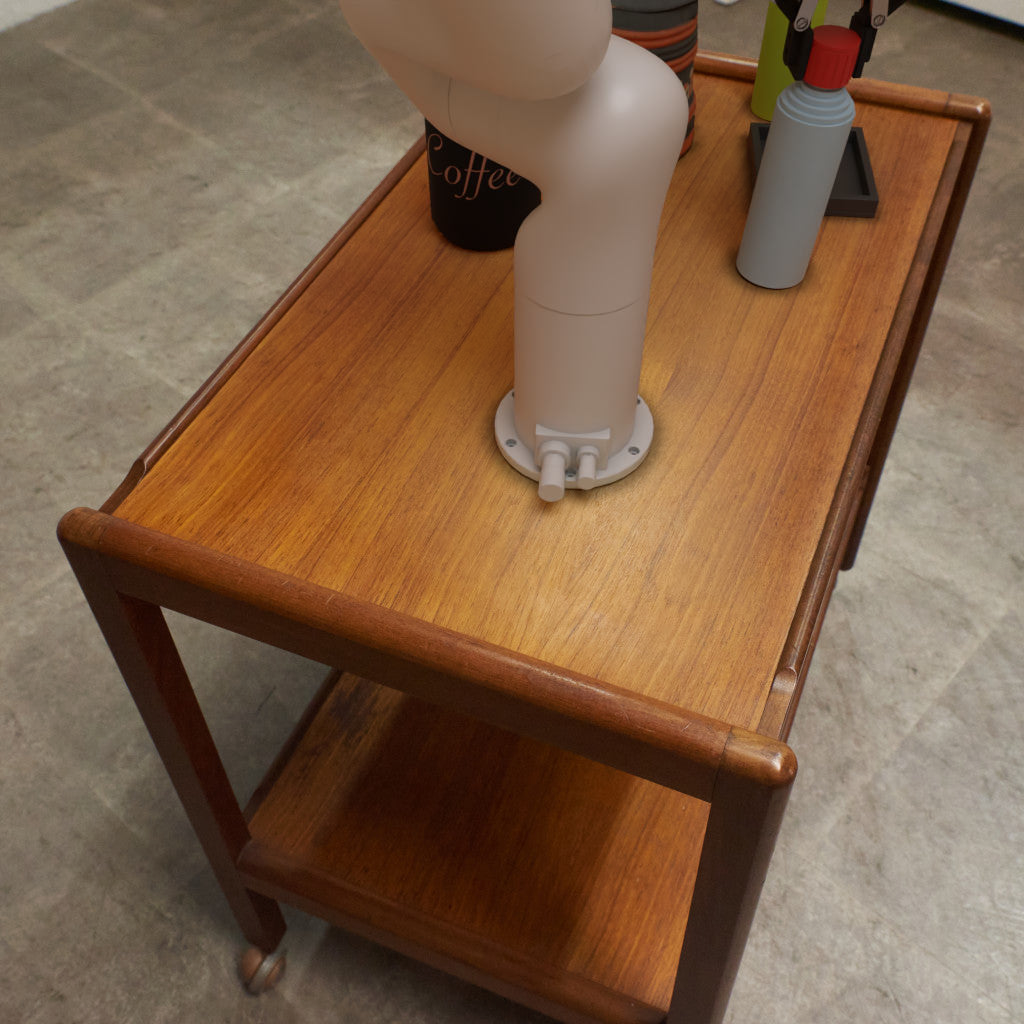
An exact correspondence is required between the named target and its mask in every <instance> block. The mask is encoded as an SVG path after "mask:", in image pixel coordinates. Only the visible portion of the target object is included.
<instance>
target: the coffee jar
mask: <svg viewBox="0 0 1024 1024" xmlns="http://www.w3.org/2000/svg"><path fill="white" fill-rule="evenodd" d="M423 119H424V132H425V144H426V161H427V173H428V175H427V176H428V189H429V202H430V216H431V220H432V222H433V224H434V226H435V228H436V229H437V231H438V233H440V234H441V235H442V237H443V238H444V239H446V240H447V241H448V242H449V243H450V244H452V245H453V246H456V247H459V248H461V249H463V250H467V251H474V252H479V253H480V252H482V253H483V252H498V251H502V250H508V249H510V248H513V247H514V246H515V240H516V236H517V234H518V231H519V228H520V226H521V225H522V223H523V221H524V220H525V219H526V218H527V216H528V215H529V214H530V213H531V212H532V211H533V210H534V209H536V208H537V207H538V206H539V205H540V204H541V203H542V193H541V191H540V189H539V188H538V187H537V186H536V185H535V184H534V183H532V182H531V181H529V180H528V179H526V178H524V177H522V176H520V175H518V174H516V173H514V172H513V171H512V170H511V169H509V168H507V167H505V166H503V165H501V164H499V163H497V162H495V161H493V160H491V159H489V158H486V157H484V156H482V155H480V154H478V153H476V152H474V151H472V150H470V149H468V148H466V147H464V146H462V145H460V144H458V143H457V142H455V141H453V140H451V139H450V138H448V137H447V136H445V135H444V134H443V133H441V132H440V131H439V130H438V129H437V128H435V127H434V126H433V125H432V124H431V123H430V122H429V121H428V120H427V119H426V118H425V117H424V116H423Z"/></svg>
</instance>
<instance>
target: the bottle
mask: <svg viewBox="0 0 1024 1024" xmlns="http://www.w3.org/2000/svg"><path fill="white" fill-rule="evenodd" d="M855 107H856V105H855V101H854V100H853V98H852V97H851V95H850V93H849V92H848V90H847V88H846V86H844V87H842V88H837V89H825V88H819V87H816V86H813V85H810V84H808V83H807V82H805V81H804V80H802V81H796V82H794V83H792V84H791V85H789V86H787V87H786V88H785V89H784V90H783V91H782V93H781V94H780V95H779V96H778V98H777V101H776V105H775V109H774V113H773V117H772V121H770V123H771V125H770V129H769V133H768V137H767V141H766V145H765V149H764V153H763V157H762V161H761V165H760V169H759V173H758V177H757V181H756V185H755V189H754V193H753V192H752V197H751V201H750V205H749V208H748V209H749V210H748V213H747V218H746V220H745V221H746V222H745V225H744V228H743V232H742V237H741V241H740V245H739V248H738V253H737V257H736V260H735V263H736V265H735V266H736V268H737V270H738V272H739V274H740V275H741V276H742V277H744V278H745V279H746V280H747V281H749V282H750V283H752V284H755V285H757V286H760V287H764V288H768V289H775V290H776V289H778V290H781V289H789V288H792V287H795V286H797V285H799V284H800V283H801V282H802V281H803V280H804V278H805V276H806V272H807V270H808V266H809V264H810V260H811V258H812V254H813V251H814V247H815V245H816V240H817V238H818V235H819V232H820V228H821V226H822V222H823V219H824V216H825V215H824V213H825V210H826V206H827V203H828V200H829V197H830V194H831V190H832V187H833V184H834V181H835V178H836V175H837V171H838V168H839V165H840V162H841V159H842V155H843V152H844V149H845V146H846V143H847V139H848V136H849V133H850V130H851V127H853V123H854V120H855V117H856V108H855Z"/></svg>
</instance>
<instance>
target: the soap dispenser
mask: <svg viewBox="0 0 1024 1024" xmlns="http://www.w3.org/2000/svg"><path fill="white" fill-rule="evenodd" d="M829 2H830V1H829V0H819V1H818V4H817V6H816V9H815V12H814V14H813V17H812V19H811V20H812V21H811V28H812V29H813V28H815V27H817V26H821V25H825V19H826V15H827V10H828V5H829ZM788 25H789V20H788V19H787V17H786V16H785V15H784V14H783V13H782V11H781V10H780V9H779V8H778V6H777V5H776V4H774V3H773V2H772V1H769V0H768V5H767V12H766V16H765V23H764V28H763V34H762V39H761V45H760V50H759V57H758V62H757V68H756V73H755V79H754V86H753V91H752V96H751V101H750V110H751V112H752V113H753V114H754V115H755V116H756V117H758V118H760V119H762V120H765V121H768V122H771V121H772V117H773V113H774V109H775V105H776V101H777V98H778V96H779V95H780V94H781V93H782V91H783V90H784V89H785V88H786V87H787V86H789V85H791V84H792V83H794V82H796V81H795V80H794V78H793V76H792V74H791V72H790V70H789V68H788V66H785V64H784V62H783V50H784V45H785V40H786V35H787V30H788Z"/></svg>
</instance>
